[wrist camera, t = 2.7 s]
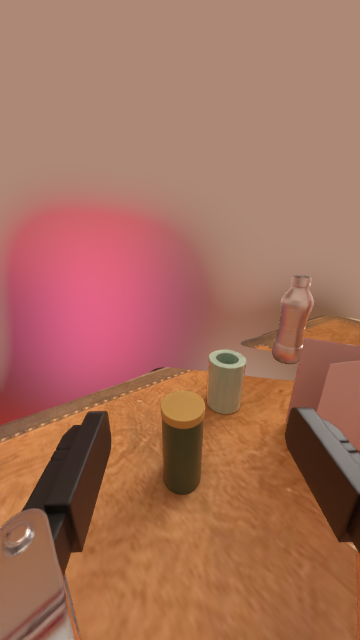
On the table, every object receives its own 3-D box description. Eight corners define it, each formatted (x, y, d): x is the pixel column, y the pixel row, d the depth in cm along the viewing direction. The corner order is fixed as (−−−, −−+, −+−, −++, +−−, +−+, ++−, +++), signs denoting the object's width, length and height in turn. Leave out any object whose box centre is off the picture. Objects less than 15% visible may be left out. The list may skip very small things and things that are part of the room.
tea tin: (161, 496, 26) (159, 421, 22) (163, 457, 31) (161, 390, 27) (203, 494, 26) (208, 420, 22) (198, 456, 31) (202, 389, 27)
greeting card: (371, 442, 33) (408, 351, 28) (391, 492, 27) (445, 385, 21) (285, 418, 37) (304, 335, 32) (285, 456, 31) (308, 360, 26)
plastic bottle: (264, 357, 56) (277, 275, 49) (283, 351, 59) (298, 273, 52) (287, 370, 50) (305, 280, 43) (306, 363, 53) (326, 278, 46)
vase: (209, 414, 38) (212, 368, 35) (204, 391, 44) (206, 349, 40) (244, 413, 38) (251, 367, 35) (235, 390, 44) (240, 349, 41)
